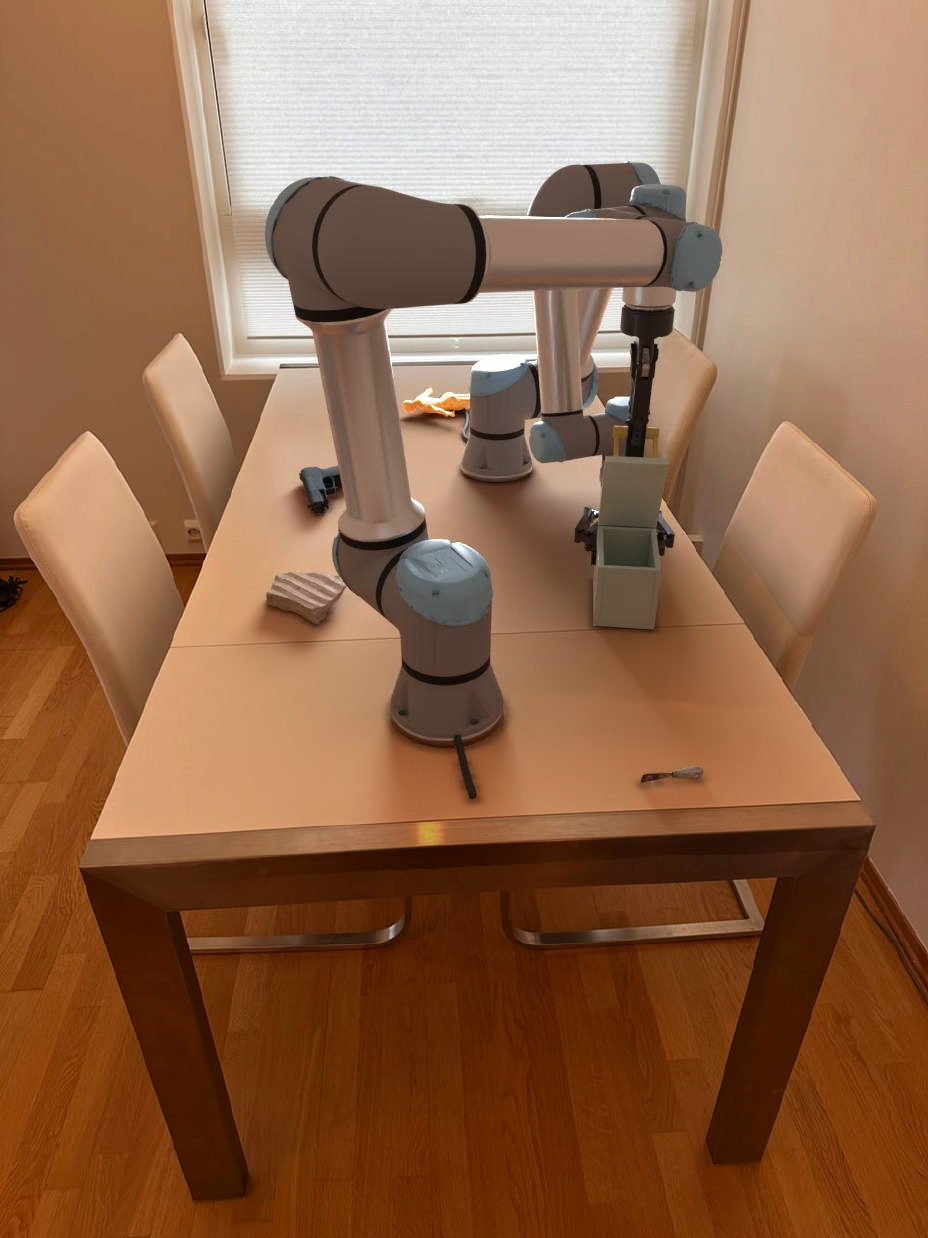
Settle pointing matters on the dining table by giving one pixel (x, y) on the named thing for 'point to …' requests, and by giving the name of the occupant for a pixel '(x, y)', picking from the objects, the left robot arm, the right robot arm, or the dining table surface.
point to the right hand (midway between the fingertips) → (625, 559)
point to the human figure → (438, 403)
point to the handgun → (320, 486)
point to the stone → (305, 593)
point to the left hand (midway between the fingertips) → (633, 459)
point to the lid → (632, 485)
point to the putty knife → (674, 774)
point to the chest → (626, 577)
